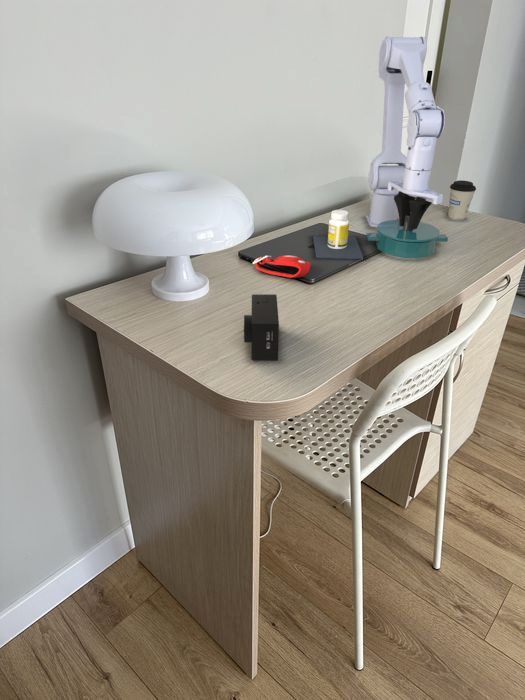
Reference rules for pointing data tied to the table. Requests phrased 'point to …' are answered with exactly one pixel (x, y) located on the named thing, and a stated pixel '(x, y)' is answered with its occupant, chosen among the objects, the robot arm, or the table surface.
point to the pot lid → (407, 231)
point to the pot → (405, 246)
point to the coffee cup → (460, 198)
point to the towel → (347, 253)
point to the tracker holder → (287, 261)
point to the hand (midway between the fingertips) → (408, 227)
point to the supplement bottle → (338, 229)
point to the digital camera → (263, 327)
